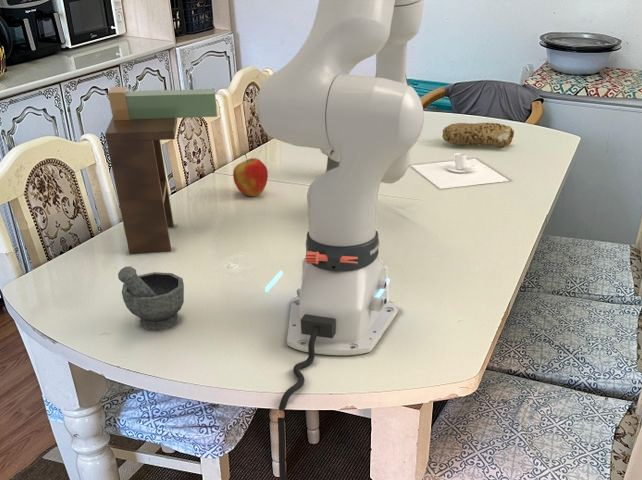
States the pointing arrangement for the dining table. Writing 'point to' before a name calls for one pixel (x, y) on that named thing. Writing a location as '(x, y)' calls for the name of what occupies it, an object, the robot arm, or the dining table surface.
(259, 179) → the apple
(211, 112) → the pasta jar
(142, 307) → the mortar and pestle
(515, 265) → the dining table surface
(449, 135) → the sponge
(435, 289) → the dining table surface
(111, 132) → the rack
